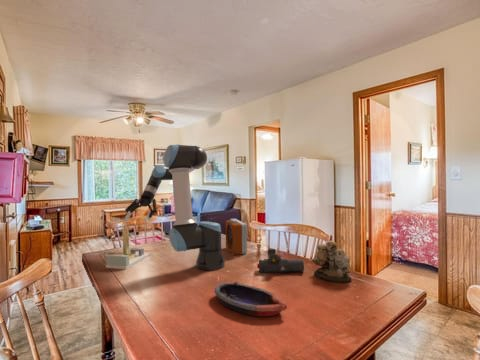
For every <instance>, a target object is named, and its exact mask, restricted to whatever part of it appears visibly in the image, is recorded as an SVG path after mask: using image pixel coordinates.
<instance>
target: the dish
mask: <svg viewBox="0 0 480 360" xmlns="http://www.w3.org/2000/svg"><path fill="white" fill-rule="evenodd" d="M214 294H215V297H216V298H217V299H218V301H219V302H220V303H221V304H223V305H224V306H225V307H227V308H229V309H231V310H233V311H236V312H238V313H242V314H245V315H248V316H252V317H273V316H275V315H279V314H280V313H281V312H283V311H285V310H287V309H288V308H287V307H288V306H287V304H286V303H284V302H283V300H282V299H281V298H280V297H279V296H278V295H276V293H273V292H271V291H268V290H267V289H264V288H260V287H257V286H252V285H249V284H243V283H239V282H238V281H234V282H227V283H226V282H225V283H220V284H218V285H216V286H215V287H214Z"/></svg>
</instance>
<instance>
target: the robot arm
mask: <svg viewBox="0 0 480 360" xmlns="http://www.w3.org/2000/svg"><path fill="white" fill-rule="evenodd" d="M164 151H165V152H164V155H163V165H164V166H163V165H155V166H154V168H153V169H152V171H151V175H150V177H149V179H148V181H147V184H146V185H145V187H144V190H143V191H142V193H141V196H140V198H139V199H137V198H135V199H134V201H133V202H132V203H131V204H129V205H128V206H127V207H126V208H125V209H124V210H125V212H126V213H125V217H124V219H123V221H124V222H125V223H128V222H129V219H130V218H131V216H132V213H133V212H134V211H136V210H137V209H139V208H141V207H145V208H146V207H148V209H149V211H148V213H147V215H146V217H145V220H144V221H145V223H146V224H149V221H150V220H151V218H152V217H153V215H154V214H157V213H158V209H157V199H155V196H156V194H157V191H158V190H159V187H160V186H161V183H162V181H172V189H173V190H172V192H173V204H174V217H175V219H174V220H175V221H174V223H172V228H170V229H169V234H168V236H169V242H170V245H171V246H172V248H173V250H174V251H176V252H186V251H190V250H197V249H198V251H199V252H198V255H197V258H196V261H195V268H196V269H198V270H202V271H214V270H215V271H216V270H219V269H222V268H224V267H225V265H226V264H225V263H226V260H225V258H224V255H223V252H222V227H221V224H220V223H218V222H213V221H199V222H198V225H197V222H196V221H195V220H194V216H193V205H192V204H193V203H192V193H191V184H190V182H191V181H190V173H192V172H193V171H195V170H198V169H202V168H203V167H204V166H205V165H206V164H207V161H208V155H207V153H206V151H205V149H203V148H202V147H200V146H198V145H186V144H169V145H168V146H167V147H166V149H165V150H164ZM165 167H166V168H165ZM151 204H152V207H153V209H152V207H151Z"/></svg>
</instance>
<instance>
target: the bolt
mask: <svg viewBox="0 0 480 360" xmlns="http://www.w3.org/2000/svg"><path fill="white" fill-rule="evenodd" d="M129 230H130V228H129V226H126V227H122V230H121V231H122V255H129V260H130V259H132V258H134V257H135V253H130V234H129V233H130V231H129Z"/></svg>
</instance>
